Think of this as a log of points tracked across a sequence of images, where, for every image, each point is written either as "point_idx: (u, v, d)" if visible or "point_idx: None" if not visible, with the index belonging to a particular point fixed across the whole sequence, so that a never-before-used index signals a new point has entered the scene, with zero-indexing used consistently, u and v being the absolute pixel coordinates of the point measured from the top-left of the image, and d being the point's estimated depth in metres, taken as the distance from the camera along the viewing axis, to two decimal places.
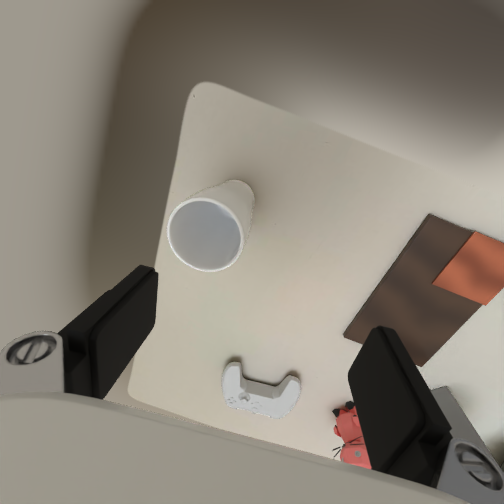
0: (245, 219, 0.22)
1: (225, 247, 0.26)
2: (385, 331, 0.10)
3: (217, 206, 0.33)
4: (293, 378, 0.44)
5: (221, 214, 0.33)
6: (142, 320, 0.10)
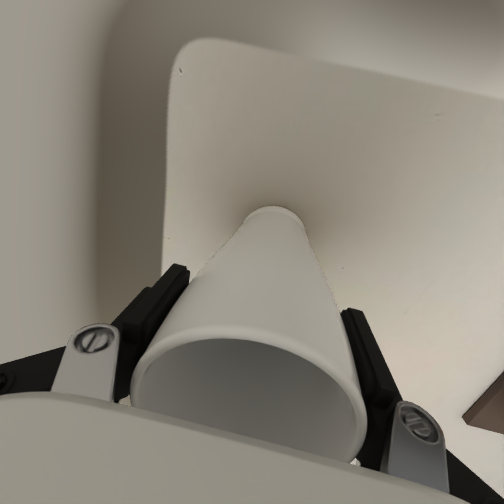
0: (348, 343, 0.08)
1: (279, 363, 0.12)
2: (353, 312, 0.10)
3: None
4: None
5: None
6: None
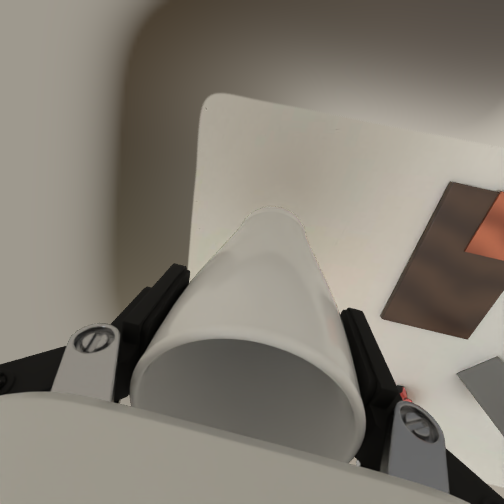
0: (347, 344, 0.08)
1: (278, 363, 0.12)
2: (353, 312, 0.10)
3: None
4: None
5: None
6: None
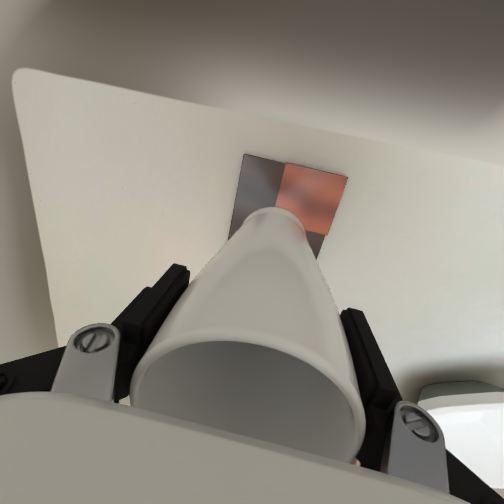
0: (347, 346, 0.08)
1: (278, 364, 0.12)
2: (353, 312, 0.10)
3: None
4: None
5: None
6: None
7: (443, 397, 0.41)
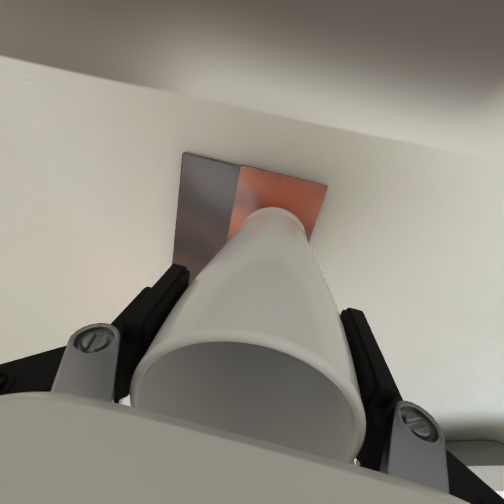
0: (347, 346, 0.08)
1: (278, 364, 0.12)
2: (353, 312, 0.10)
3: None
4: None
5: None
6: None
7: None
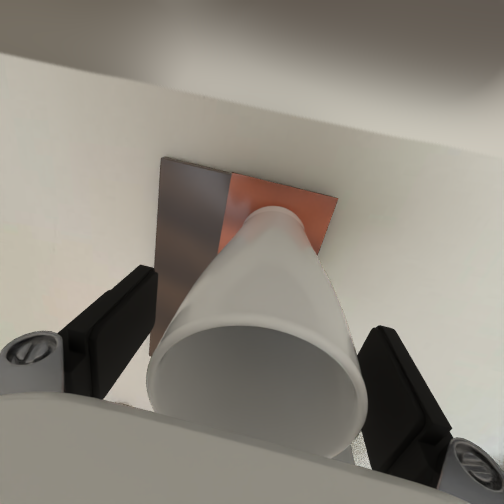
0: (349, 332, 0.08)
1: (282, 355, 0.13)
2: (385, 331, 0.10)
3: None
4: None
5: None
6: (142, 320, 0.10)
7: None
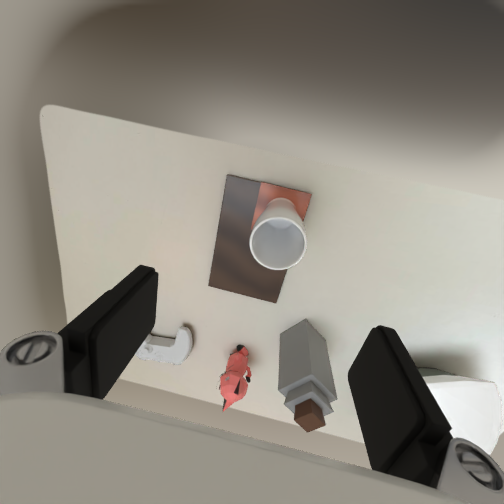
0: (304, 227, 0.30)
1: (285, 251, 0.34)
2: (385, 331, 0.10)
3: (267, 220, 0.42)
4: (182, 327, 0.54)
5: (271, 227, 0.42)
6: (142, 320, 0.10)
7: None
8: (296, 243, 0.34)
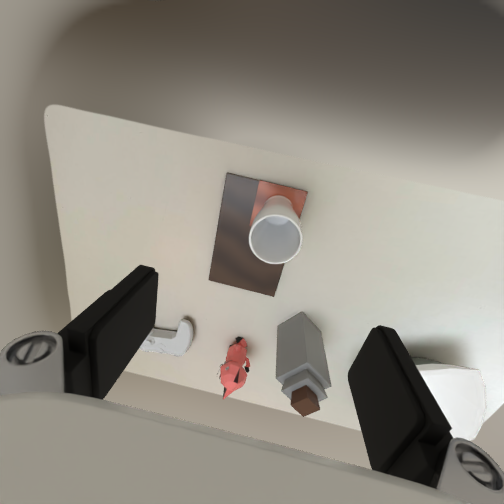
0: (299, 224, 0.32)
1: (282, 246, 0.36)
2: (385, 331, 0.10)
3: (265, 217, 0.43)
4: (183, 320, 0.56)
5: (269, 223, 0.43)
6: (142, 320, 0.10)
7: None
8: (292, 239, 0.36)
